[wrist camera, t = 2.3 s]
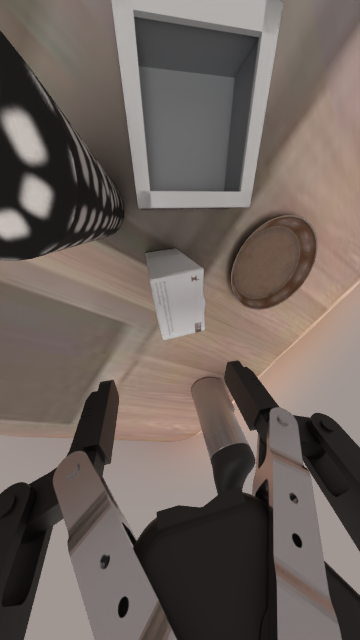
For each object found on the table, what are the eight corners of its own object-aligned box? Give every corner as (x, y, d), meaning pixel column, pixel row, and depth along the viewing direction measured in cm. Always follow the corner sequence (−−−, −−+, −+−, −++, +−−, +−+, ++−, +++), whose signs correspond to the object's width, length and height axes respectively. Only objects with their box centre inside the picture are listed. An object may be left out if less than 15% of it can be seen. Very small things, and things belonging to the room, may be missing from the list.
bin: (243, 65, 19) (283, 1, 14) (228, 210, 27) (249, 206, 21) (118, 48, 17) (106, -35, 12) (139, 212, 25) (138, 207, 19)
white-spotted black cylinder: (133, 196, 24) (105, 121, 7) (111, 248, 26) (51, 288, 9) (71, 149, 20) (-312, -252, 3) (53, 214, 23) (-203, 183, 6)
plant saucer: (281, 305, 40) (290, 311, 37) (215, 303, 36) (221, 309, 33) (320, 223, 31) (336, 223, 29) (240, 208, 27) (250, 206, 25)
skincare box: (144, 252, 28) (144, 274, 15) (178, 247, 28) (205, 264, 16) (154, 296, 32) (160, 343, 19) (183, 291, 33) (207, 332, 20)
